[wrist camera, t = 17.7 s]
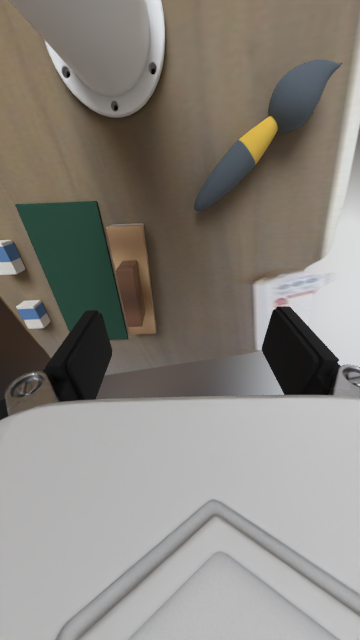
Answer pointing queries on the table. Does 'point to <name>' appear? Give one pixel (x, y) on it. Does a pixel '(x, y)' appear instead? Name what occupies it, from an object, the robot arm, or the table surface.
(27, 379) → the robot arm
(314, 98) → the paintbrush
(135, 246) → the scrub brush
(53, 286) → the desk mat
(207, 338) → the table surface
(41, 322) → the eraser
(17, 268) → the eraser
